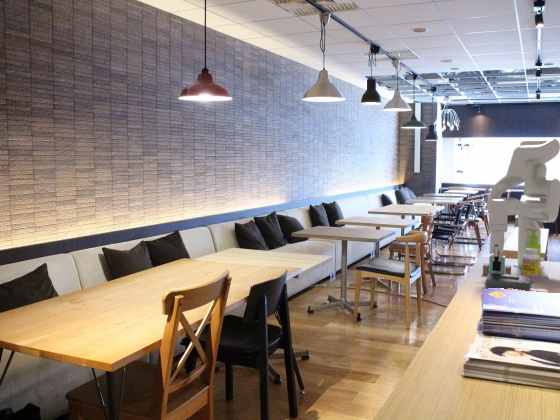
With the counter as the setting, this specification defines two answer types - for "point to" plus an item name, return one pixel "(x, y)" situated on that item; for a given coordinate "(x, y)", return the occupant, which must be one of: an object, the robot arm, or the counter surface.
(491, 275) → the port
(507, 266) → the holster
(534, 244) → the soap dispenser
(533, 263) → the supplement bottle
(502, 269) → the plug
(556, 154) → the robot arm
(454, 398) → the counter surface
